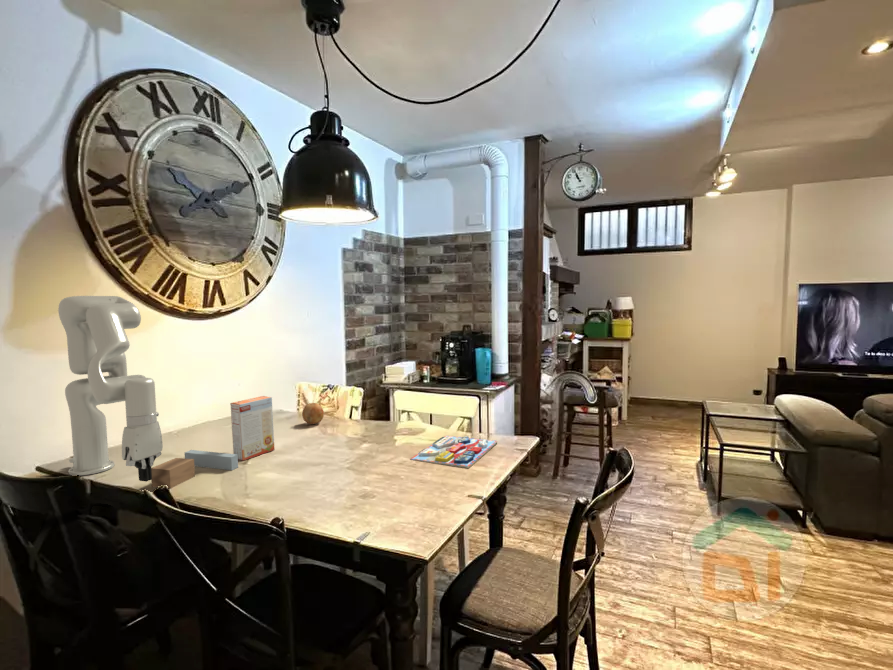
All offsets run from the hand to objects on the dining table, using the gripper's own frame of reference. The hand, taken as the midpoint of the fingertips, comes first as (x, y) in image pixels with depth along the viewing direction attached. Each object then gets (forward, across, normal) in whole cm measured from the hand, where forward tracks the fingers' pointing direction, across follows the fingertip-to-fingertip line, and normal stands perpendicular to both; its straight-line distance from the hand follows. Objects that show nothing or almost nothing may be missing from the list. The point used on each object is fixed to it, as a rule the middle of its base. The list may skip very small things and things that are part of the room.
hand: (145, 480), depth 140 cm
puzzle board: (+5, -62, +79) cm, 100 cm away
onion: (+4, -83, +4) cm, 83 cm away
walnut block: (+4, -10, 0) cm, 11 cm away
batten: (+4, -24, +1) cm, 25 cm away
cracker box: (+4, -39, +7) cm, 40 cm away
